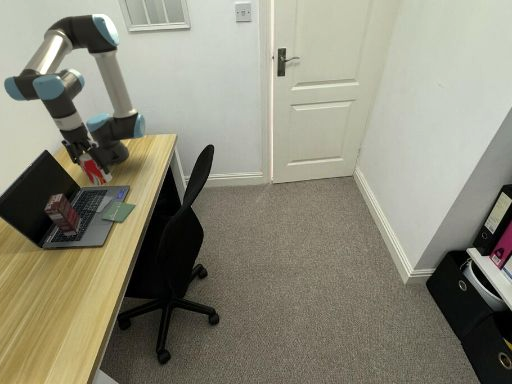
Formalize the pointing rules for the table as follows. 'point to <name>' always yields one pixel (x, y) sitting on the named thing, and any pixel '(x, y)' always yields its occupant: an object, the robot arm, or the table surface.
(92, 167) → the soda can
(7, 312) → the table surface
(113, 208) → the coaster
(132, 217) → the table surface
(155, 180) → the table surface
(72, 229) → the supplement box
